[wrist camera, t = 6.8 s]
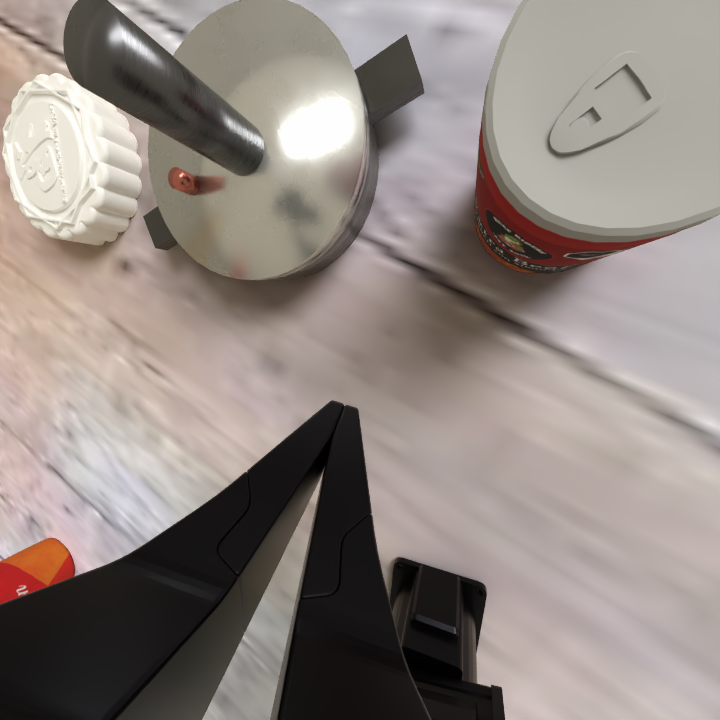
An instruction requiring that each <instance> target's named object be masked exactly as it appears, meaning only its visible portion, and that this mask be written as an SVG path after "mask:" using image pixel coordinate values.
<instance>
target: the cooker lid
mask: <svg viewBox="0 0 720 720" xmlns="http://www.w3.org/2000/svg"><path fill="white" fill-rule="evenodd" d="M64 55H65V60H66V64H67V67H68V69H69V72H70V74H71V76H72V77H73V79H74V80H75V81H76V82H77V83H78V84H79V85H80V86H81V87H83V88H85V89H86V90H88V91H90V92H92V93H93V94H95V95H97V96H99V97H100V98H102V99H104V100H106V101H107V102H109V103H111V104H113V105H114V106H116V107H118V108H120V109H121V110H123V111H125V112H127V113H128V114H130V115H132V116H134V117H135V118H137V119H139V120H141V121H142V122H144V123H146V124H148V125H150V126H149V139H148V158H149V169H150V177H151V182H152V187H153V191H154V195H155V198H156V201H157V205H158V208H159V210H160V212H161V215H162V217H163V219H164V221H165V223H166V225H167V227H168V229H169V230H170V232H171V234H172V235H173V237H174V238H175V239H176V241H177V242H178V243H179V245H180V246H181V247H182V248H183V249H184V250H185V251H186V252H187V253H188V254H189V255H190V256H191V257H192V258H193V259H194V260H196V261H197V262H198V263H199V264H201V265H203V266H204V267H206V268H207V269H209V270H211V271H213V272H216V273H218V274H220V275H223V276H227V277H231V278H235V279H244V280H267V279H272V278H276V277H280V276H283V275H286V274H288V273H291V272H293V271H295V270H297V269H298V268H300V267H302V266H304V265H305V264H307V263H308V262H309V261H311V260H312V259H313V258H314V257H316V256H317V255H318V254H319V253H320V252H321V251H322V250H323V249H324V248H325V247H326V246H327V245H328V244H329V243H330V242H331V240H332V239H333V238H334V236H335V235H336V234H337V232H338V231H339V230H340V228H341V226H342V225H343V223H344V221H345V220H346V218H347V216H348V215H349V212H350V210H351V208H352V206H353V204H354V201H355V199H356V197H357V193H358V190H359V187H360V184H361V181H362V177H363V172H364V167H365V162H366V153H367V142H368V136H367V116H366V109H365V102H364V98H363V94H362V90H361V87H360V83H359V80H358V78H357V76H356V73H355V71H354V68H353V66H352V64H351V62H350V59H349V57H348V55H347V53H346V52H345V50H344V48H343V47H342V45H341V43H340V42H339V40H338V38H337V37H336V36H335V35H334V34H333V32H332V31H331V30H330V29H329V27H328V26H327V25H326V24H325V23H324V22H323V21H321V20H320V19H319V18H318V17H317V16H316V15H315V14H313V13H312V12H310V11H308V10H307V9H305V8H303V7H302V6H300V5H298V4H295V3H292V2H290V1H287V0H239V1H236V2H234V3H231V4H229V5H226V6H224V7H222V8H221V9H219V10H217V11H216V12H214V13H212V14H211V15H209V16H208V17H207V18H206V19H204V20H203V21H202V22H201V23H199V24H198V25H197V26H196V27H195V28H194V29H193V30H192V31H191V33H190V34H189V35H188V36H187V37H186V38H185V39H184V41H183V42H182V43H181V45H180V46H179V48H178V49H177V50H176V52H175V54H174V55H173V56H172V55H171V54H170V53H169V52H167V51H166V50H165V49H164V48H163V47H162V46H160V45H159V44H158V43H157V42H156V41H155V40H153V39H152V38H151V37H150V36H149V35H148V34H146V33H145V32H144V31H143V30H142V29H140V28H139V27H138V26H137V25H136V24H135V23H133V22H132V21H131V20H130V19H129V18H128V17H126V16H125V15H124V14H123V13H122V12H121V11H119V10H118V9H117V8H116V7H115V6H114V5H112V4H111V3H110V2H109V1H108V0H78V1H77V2H76V3H75V4H74V6H73V7H72V9H71V11H70V13H69V15H68V18H67V21H66V25H65V30H64Z"/></svg>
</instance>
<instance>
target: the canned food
mask: <svg viewBox="0 0 720 720" xmlns="http://www.w3.org/2000/svg"><path fill="white" fill-rule="evenodd" d="M474 214H475V225H476V229H477V233H478V236H479V238H480V240H481V242H482V244H483V246H484V248H485V249H486V250H487V251H488V252H489V253H490V255H491V256H492V257H493V258H494V259H496V260H497V261H499V262H500V263H501V264H503V265H504V266H507V267H509V268H511V269H514V270H516V271H520V272H525V273H530V274H549V273H555V272H562V271H565V270H568V269H571V268H574V267H577V266H580V265H583V264H586V263H589V262H592V261H595V260H598V259H601V258H604V257H607V256H610V255H613V254H616V253H619V252H622V251H625V250H628V249H631V248H633V247H636V246H639V245H642V244H645V243H648V242H651V241H654V240H657V239H660V238H663V237H666V236H669V235H672V234H675V233H677V232H679V231H681V230H684V229H687V228H690V227H693V226H696V225H698V224H701V223H703V222H705V221H707V220H709V219H711V218H713V217H715V216H717V215H719V214H720V0H523V1H522V2H521V4H520V5H519V7H518V8H517V10H516V12H515V14H514V16H513V18H512V20H511V22H510V24H509V26H508V28H507V30H506V32H505V34H504V36H503V38H502V40H501V42H500V45H499V48H498V52H497V55H496V58H495V61H494V64H493V67H492V70H491V73H490V78H489V81H488V84H487V87H486V93H485V100H484V106H483V113H482V121H481V130H480V136H479V150H478V164H477V178H476V192H475V206H474Z"/></svg>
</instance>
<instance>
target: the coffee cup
mask: <svg viewBox="0 0 720 720" xmlns="http://www.w3.org/2000/svg"><path fill="white" fill-rule="evenodd" d="M74 574H75V566H74V562H73V559H72V556H71V554H70V553H69V551H68V549H67V548H66V547H65V546H64V545H63V544H62V543H61V542H60V541H58V540H57V539H54V538H48V539H45V540H43V541H41V542H39V543H37V544H35V545H33V546H30V547H28V548H26V549H24V550H22V551H20V552H18V553H16V554H14V555H12V556H10V557H8V558H6V559H4V560H2V561H0V604H1V603H4V602H7V601H10V600H12V599H15V598H18V597H20V596H23V595H26V594H29V593H31V592H34V591H37V590H39V589H42V588H45V587H48V586H50V585H53V584H56V583H58V582H61V581H64V580H67V579H69V578H72V577H74Z"/></svg>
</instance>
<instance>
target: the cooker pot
mask: <svg viewBox="0 0 720 720" xmlns="http://www.w3.org/2000/svg"><path fill="white" fill-rule="evenodd" d="M354 71H355V73H356V76H357V78H358V80H359V83H360V87H361V90H362V94H363V98H364V102H365V109H366V116H367V136H368V142H367V153H366V162H365V167H364V172H363V177H362V181H361V184H360V187H359V190H358V193H357V197H356V199H355V201H354V204H353V206H352V208H351V210H350V212H349V215H348V216H347V218H346V220H345V221H344V223H343V225H342V226H341V228H340V230H339V231H338V232H337V234H336V235H335V236H334V238H333V239H332V240H331V242H330V243H329V244H328V245H327V246H326V247H325V248H324V249H323V250H322V251H321V252H320V253H319V254H318V255H317V256H316V257H314V258H313V259H312V260H311V261H309V262H308V263H307V264H305V265H304V266H302V267H300V268H298V269H297V270H295V271H293V272H291V273H288V274H286V275H283V276H280V277H276V278H272V279H278V280H289V279H297V278H301V277H306V276H308V275H311V274H313V273H316V272H318V271H320V270H321V269H323V268H325V267H327V266H328V265H329V264H331V263H332V262H333V261H335V260H336V259H337V258H338V257H339V256H340V255H341V254H342V253H343V252H344V251H345V250H346V249H347V248H348V247H349V246H350V244H351V243H352V242H353V241H354V239H355V238H356V236H357V235H358V233H359V232H360V230H361V228H362V227H363V225H364V222H365V220H366V218H367V216H368V214H369V211H370V208H371V205H372V202H373V199H374V195H375V191H376V186H377V179H378V168H379V162H378V146H377V139H376V134H375V130H374V126H373V124H374V123H376V122H378V121H379V120H381V119H383V118H384V117H386V116H388V115H389V114H391V113H392V112H394V111H396V110H397V109H399V108H401V107H402V106H404V105H406V104H407V103H409V102H410V101H412V100H414V99H415V98H417V97H419V96H420V95H422V94H424V89H423V84H422V79H421V76H420V73H419V70H418V67H417V64H416V61H415V58H414V55H413V52H412V49H411V46H410V43H409V40H408V37H407V34H406V35H405V36H403V37H402V38H400V39H399V40H398V41H396V42H395V43H393V44H392V45H390V46H389V47H387V48H386V49H385V50H383V51H382V52H380V53H379V54H377V55H376V56H374V57H373V58H372V59H370V60H369V61H367V62H366V63H364V64H363V65H361V66H360V67H359V68H357V69H356V70H354ZM143 217H144V220H145V222H146V225H147V227H148V230H149V233H150V235H151V238H152V240H153V243H154V246H155V248H158V249H163V250H169V249H170V248H172V247H174V246H175V245H177V244H178V242H177V241H176V239H175V238H174V237H173V235H172V234H171V232H170V230H169V229H168V227H167V225H166V223H165V221H164V219H163V217H162V215H161V212H160V210H159V208H158V207H156V208H155V209H153V210H152V211H151V212H149V213H148V214H146V215H145V216H143ZM267 280H270V279H267Z"/></svg>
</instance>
